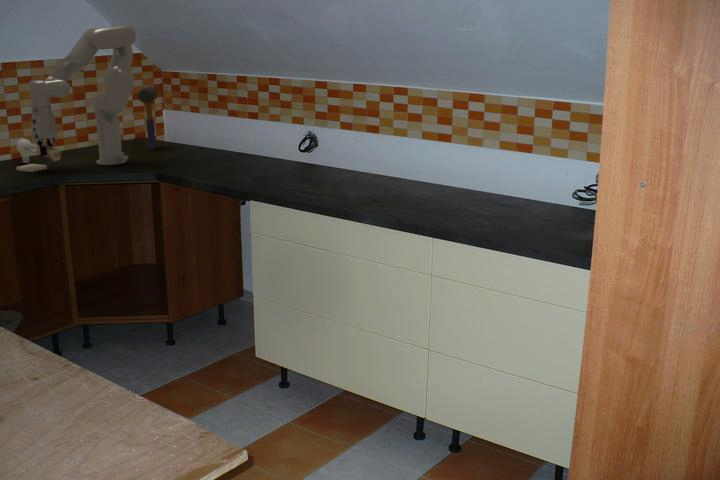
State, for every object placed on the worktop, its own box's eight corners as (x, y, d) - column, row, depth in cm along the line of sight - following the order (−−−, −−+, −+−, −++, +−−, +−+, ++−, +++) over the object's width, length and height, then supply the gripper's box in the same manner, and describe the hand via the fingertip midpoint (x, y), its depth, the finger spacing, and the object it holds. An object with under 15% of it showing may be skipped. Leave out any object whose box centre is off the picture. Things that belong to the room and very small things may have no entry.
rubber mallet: (147, 147, 399) (142, 85, 391) (162, 147, 399) (158, 85, 391) (141, 151, 387) (136, 88, 379) (157, 151, 387) (152, 87, 379)
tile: (46, 165, 349) (30, 163, 352) (32, 168, 342) (16, 166, 345) (47, 169, 349) (31, 167, 353) (32, 172, 342) (16, 171, 346)
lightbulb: (27, 161, 364) (24, 137, 361) (37, 162, 361) (34, 138, 358) (15, 163, 359) (12, 139, 356) (24, 165, 356) (21, 140, 353)
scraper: (62, 159, 343) (63, 150, 341) (52, 162, 338) (53, 153, 336) (34, 145, 348) (35, 136, 346) (23, 147, 342) (24, 139, 341)
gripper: (33, 113, 328) (39, 158, 333) (63, 108, 342) (67, 152, 347) (19, 112, 331) (25, 157, 336) (49, 107, 345) (54, 150, 350)
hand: (46, 154), depth 342 cm, fingers closed on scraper, 2 cm apart
